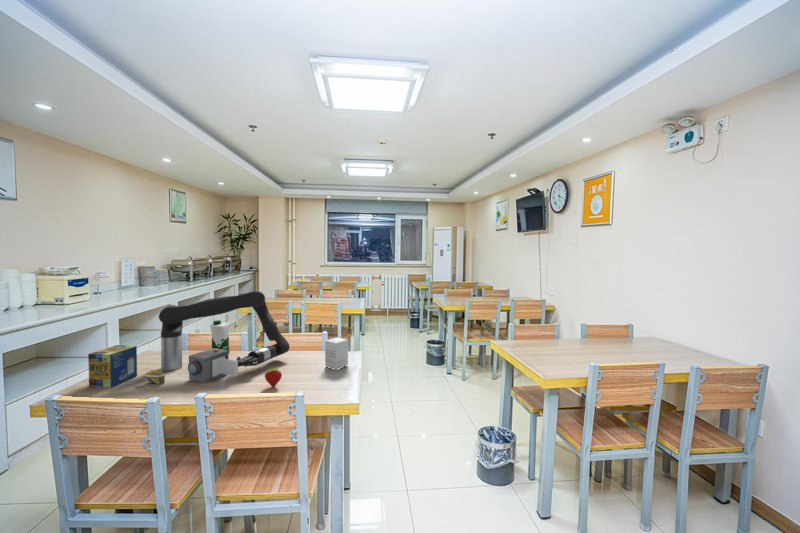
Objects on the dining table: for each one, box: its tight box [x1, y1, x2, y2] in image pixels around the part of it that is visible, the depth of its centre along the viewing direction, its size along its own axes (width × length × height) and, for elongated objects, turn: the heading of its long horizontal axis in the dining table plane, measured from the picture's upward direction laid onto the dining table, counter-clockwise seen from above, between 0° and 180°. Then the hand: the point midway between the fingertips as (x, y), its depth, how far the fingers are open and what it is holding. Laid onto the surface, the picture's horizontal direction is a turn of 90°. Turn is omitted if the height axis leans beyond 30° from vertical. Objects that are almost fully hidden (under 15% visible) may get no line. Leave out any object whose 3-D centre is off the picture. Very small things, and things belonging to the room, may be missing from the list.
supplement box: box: [324, 337, 349, 369], centre depth 188 cm, size 9×9×15 cm
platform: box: [144, 369, 169, 385], centre depth 162 cm, size 12×18×7 cm, turn 87°
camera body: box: [187, 348, 230, 384], centre depth 170 cm, size 16×10×13 cm, turn 160°
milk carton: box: [209, 319, 231, 353], centre depth 210 cm, size 9×9×20 cm
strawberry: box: [264, 367, 283, 388], centre depth 160 cm, size 6×8×10 cm
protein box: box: [87, 344, 138, 389], centre depth 163 cm, size 10×15×16 cm
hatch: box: [212, 356, 239, 377], centre depth 167 cm, size 7×12×8 cm, turn 70°
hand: (233, 366), depth 167 cm, fingers closed
